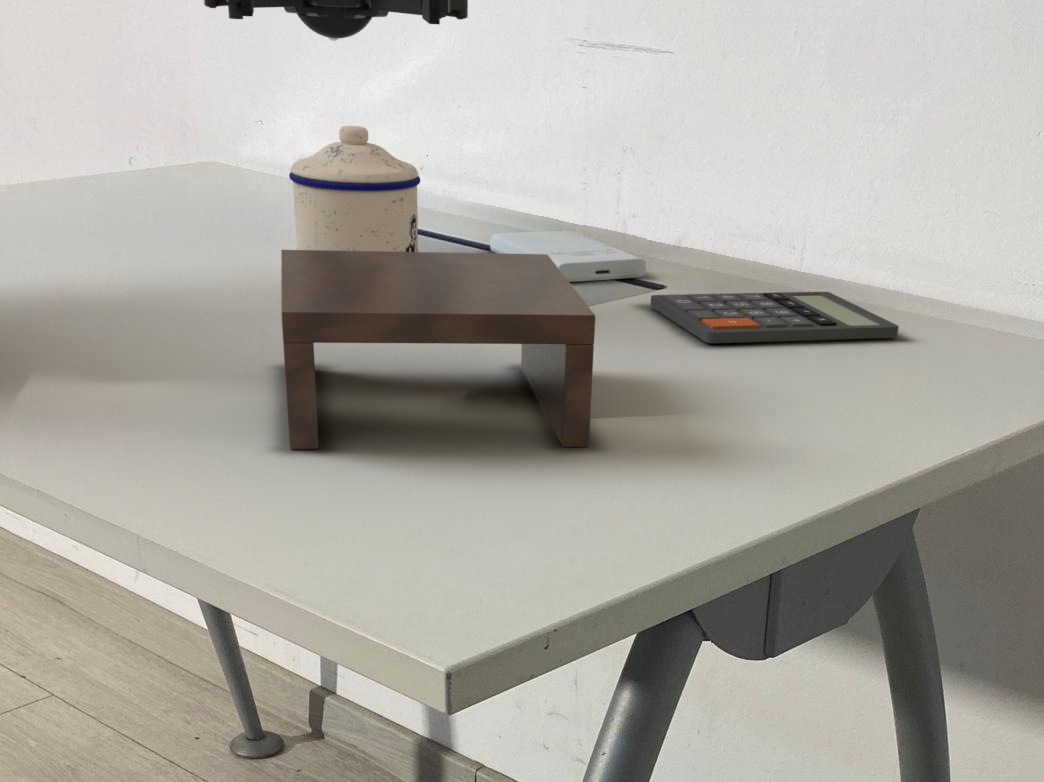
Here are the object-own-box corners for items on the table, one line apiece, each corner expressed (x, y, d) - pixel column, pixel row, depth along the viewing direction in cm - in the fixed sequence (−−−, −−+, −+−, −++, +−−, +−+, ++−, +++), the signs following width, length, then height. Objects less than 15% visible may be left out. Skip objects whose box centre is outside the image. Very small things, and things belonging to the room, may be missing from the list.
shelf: (289, 449, 75) (281, 312, 71) (288, 368, 88) (281, 249, 85) (589, 447, 78) (595, 315, 74) (544, 369, 91) (547, 254, 88)
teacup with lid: (433, 314, 102) (432, 136, 96) (305, 317, 100) (295, 134, 94) (401, 279, 112) (397, 115, 106) (283, 280, 109) (273, 113, 103)
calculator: (649, 292, 107) (828, 288, 112) (648, 305, 108) (826, 301, 112) (708, 329, 98) (901, 324, 103) (707, 343, 99) (899, 337, 103)
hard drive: (573, 249, 126) (645, 277, 117) (489, 253, 123) (558, 283, 114) (573, 229, 126) (647, 256, 117) (490, 233, 122) (558, 261, 113)
